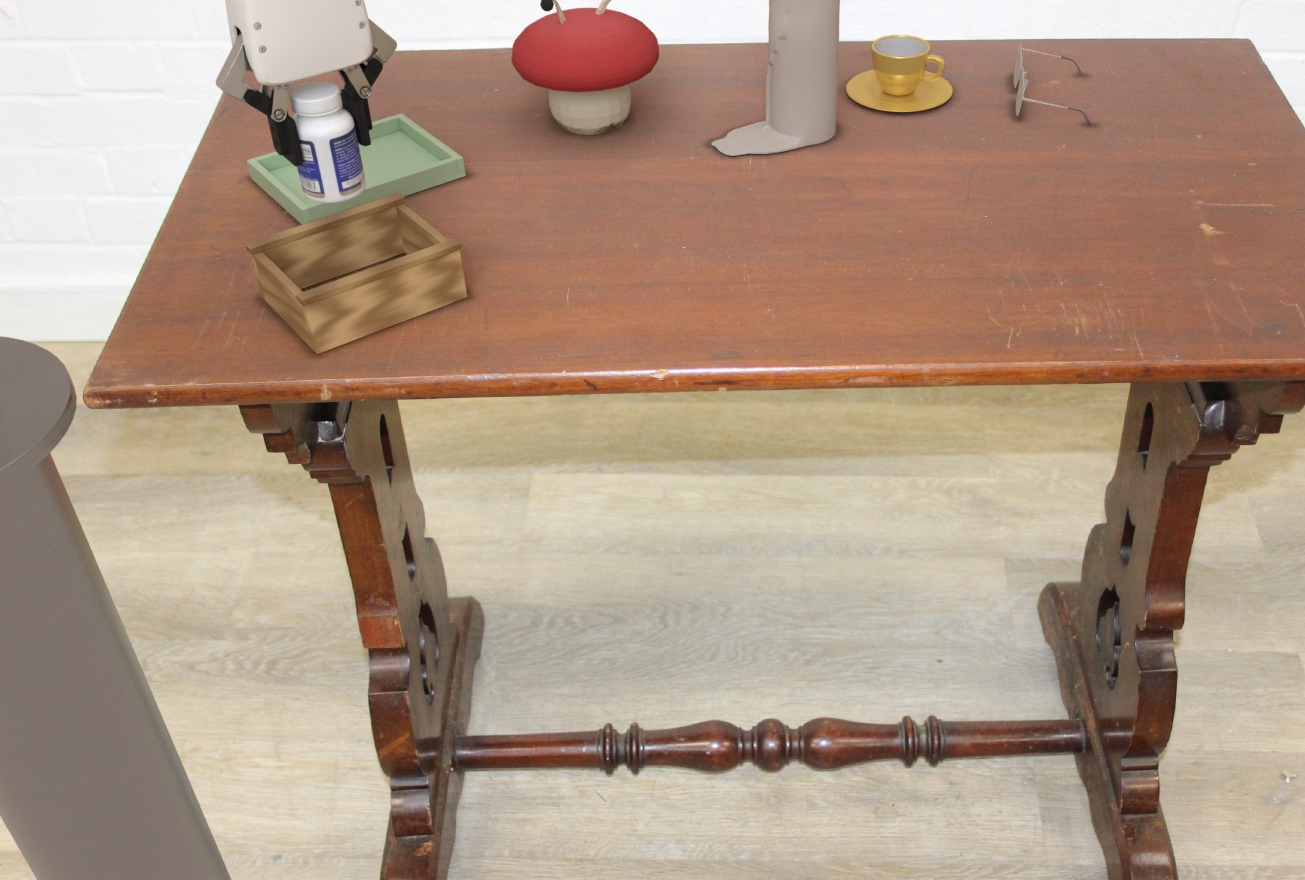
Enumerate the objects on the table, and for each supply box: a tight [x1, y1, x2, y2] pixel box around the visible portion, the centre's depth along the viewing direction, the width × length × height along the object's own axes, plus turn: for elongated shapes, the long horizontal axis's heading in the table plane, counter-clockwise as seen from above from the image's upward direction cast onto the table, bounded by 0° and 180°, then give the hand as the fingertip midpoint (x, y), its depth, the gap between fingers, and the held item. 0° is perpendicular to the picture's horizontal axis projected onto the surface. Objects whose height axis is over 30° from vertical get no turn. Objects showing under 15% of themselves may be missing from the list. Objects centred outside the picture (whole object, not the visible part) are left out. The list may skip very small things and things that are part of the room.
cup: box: [845, 34, 954, 113], centre depth 157 cm, size 12×12×5 cm
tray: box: [246, 113, 467, 225], centre depth 144 cm, size 18×14×2 cm
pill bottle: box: [289, 80, 366, 203], centre depth 116 cm, size 5×5×9 cm
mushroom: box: [511, 0, 660, 136], centre depth 149 cm, size 16×16×15 cm
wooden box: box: [244, 193, 468, 355], centre depth 124 cm, size 15×12×6 cm
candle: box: [710, 0, 841, 157], centre depth 144 cm, size 7×14×20 cm, turn 116°
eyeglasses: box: [1013, 44, 1093, 126], centre depth 156 cm, size 14×8×4 cm, turn 173°
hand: (326, 147), depth 116 cm, fingers closed on pill bottle, 5 cm apart
